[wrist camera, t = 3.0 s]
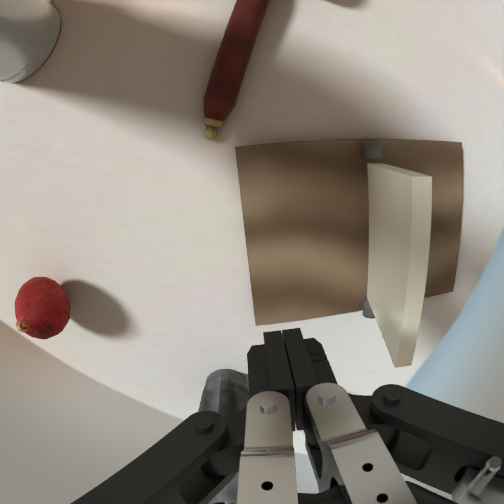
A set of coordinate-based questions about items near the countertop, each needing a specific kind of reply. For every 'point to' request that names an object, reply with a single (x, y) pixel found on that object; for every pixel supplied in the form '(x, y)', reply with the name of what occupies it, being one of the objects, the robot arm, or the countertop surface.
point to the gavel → (232, 62)
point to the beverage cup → (225, 413)
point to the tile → (398, 254)
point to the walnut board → (335, 221)
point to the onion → (41, 308)
